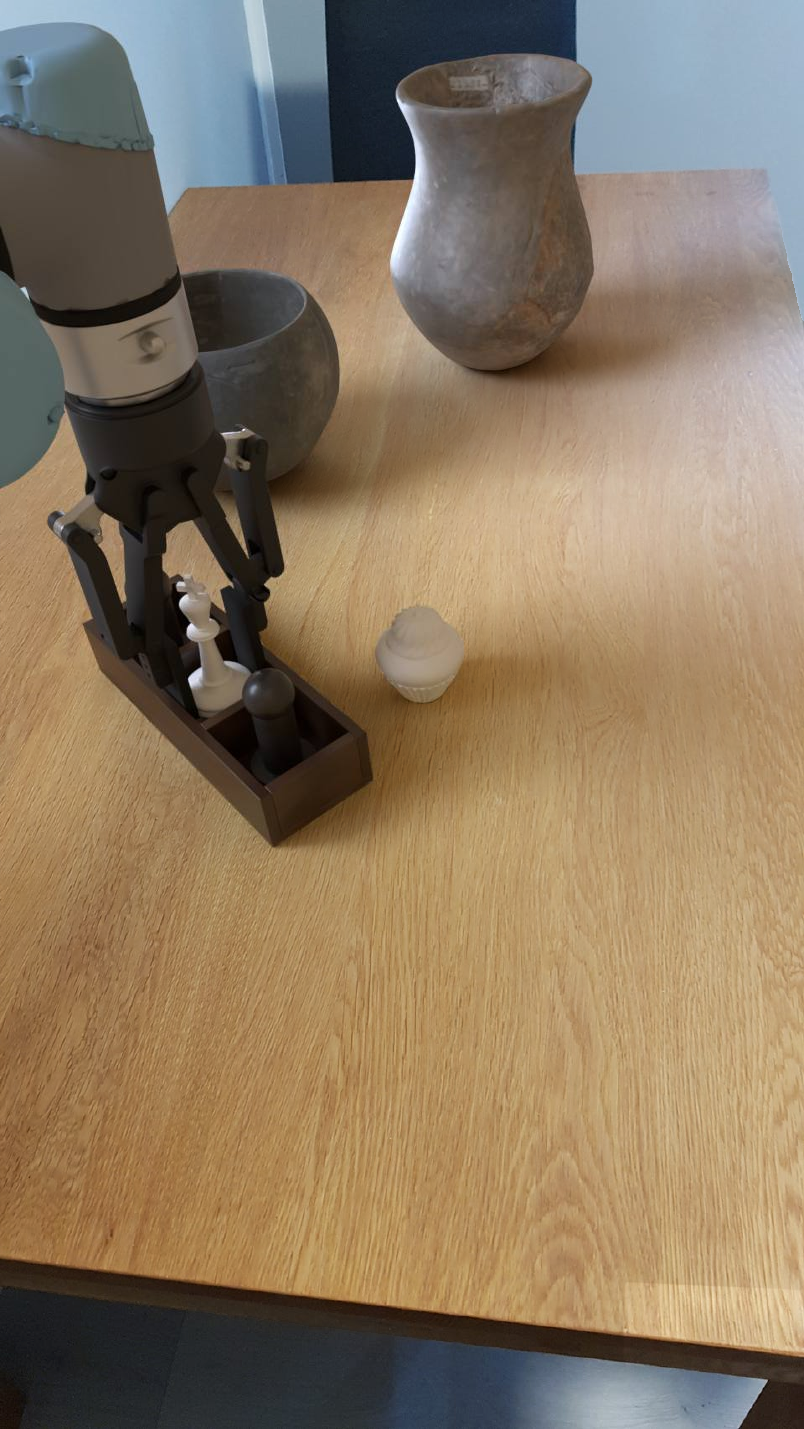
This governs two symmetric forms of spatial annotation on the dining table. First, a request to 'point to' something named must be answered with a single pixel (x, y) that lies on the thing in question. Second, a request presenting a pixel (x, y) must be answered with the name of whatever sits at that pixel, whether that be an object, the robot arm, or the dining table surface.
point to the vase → (493, 207)
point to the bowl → (264, 360)
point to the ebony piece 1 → (170, 616)
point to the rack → (249, 736)
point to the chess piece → (209, 654)
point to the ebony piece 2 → (274, 725)
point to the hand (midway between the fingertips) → (219, 689)
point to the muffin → (420, 653)
